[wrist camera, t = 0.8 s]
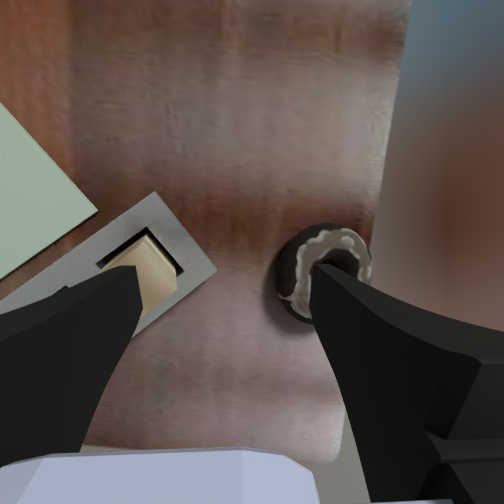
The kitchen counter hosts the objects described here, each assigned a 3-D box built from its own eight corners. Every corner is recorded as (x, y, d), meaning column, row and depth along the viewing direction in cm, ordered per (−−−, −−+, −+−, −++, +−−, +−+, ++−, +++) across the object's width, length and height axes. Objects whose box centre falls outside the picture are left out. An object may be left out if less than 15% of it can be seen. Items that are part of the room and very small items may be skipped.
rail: (64, 380, 26) (53, 399, 23) (-19, 316, 23) (-40, 329, 20) (213, 264, 28) (217, 270, 26) (155, 191, 25) (154, 191, 23)
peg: (141, 289, 26) (131, 325, 19) (112, 258, 25) (88, 283, 17) (174, 264, 27) (177, 289, 19) (147, 232, 25) (139, 246, 18)
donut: (278, 215, 29) (294, 217, 26) (365, 228, 33) (390, 231, 29) (262, 315, 31) (275, 331, 27) (347, 317, 35) (368, 331, 31)
